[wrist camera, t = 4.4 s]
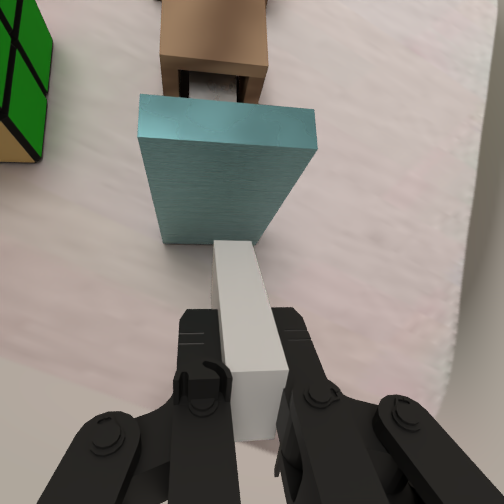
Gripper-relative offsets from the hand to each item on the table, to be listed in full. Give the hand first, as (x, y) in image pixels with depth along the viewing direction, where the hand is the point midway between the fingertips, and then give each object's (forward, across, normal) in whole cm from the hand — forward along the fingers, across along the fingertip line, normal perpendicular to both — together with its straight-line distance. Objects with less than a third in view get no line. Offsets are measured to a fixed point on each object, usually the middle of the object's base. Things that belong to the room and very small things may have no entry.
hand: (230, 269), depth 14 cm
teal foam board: (+14, 0, +2) cm, 14 cm away
